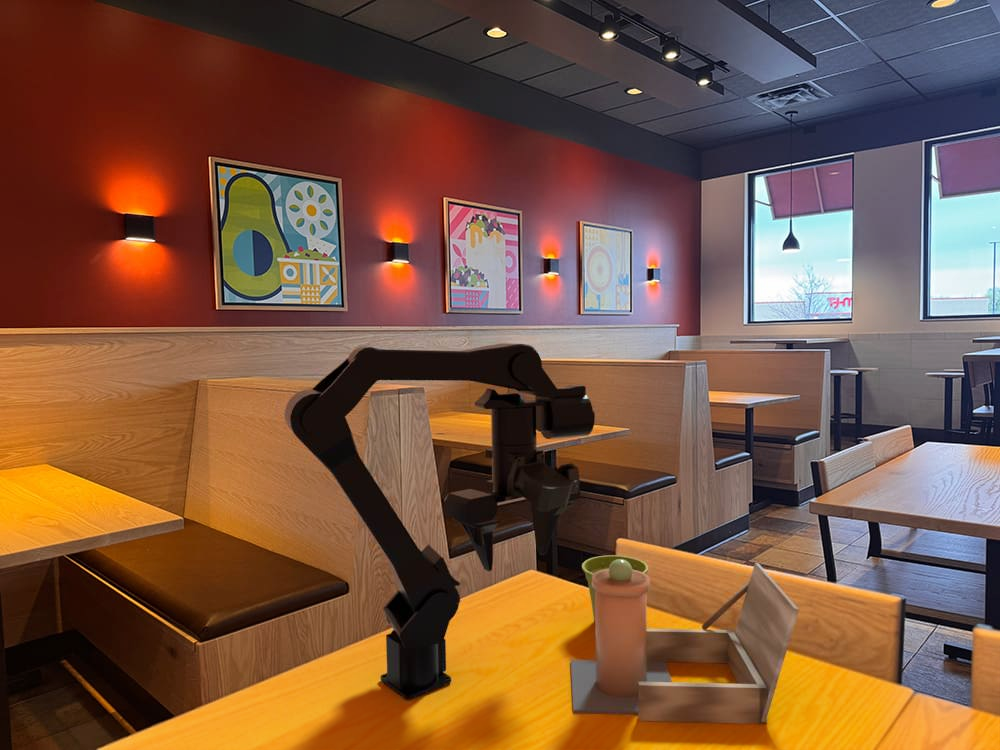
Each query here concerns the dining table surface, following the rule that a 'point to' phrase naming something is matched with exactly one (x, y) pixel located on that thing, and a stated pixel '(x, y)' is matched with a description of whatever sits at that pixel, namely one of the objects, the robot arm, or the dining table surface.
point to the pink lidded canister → (621, 628)
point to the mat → (596, 701)
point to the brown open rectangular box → (724, 660)
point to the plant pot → (604, 563)
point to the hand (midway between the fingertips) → (516, 562)
